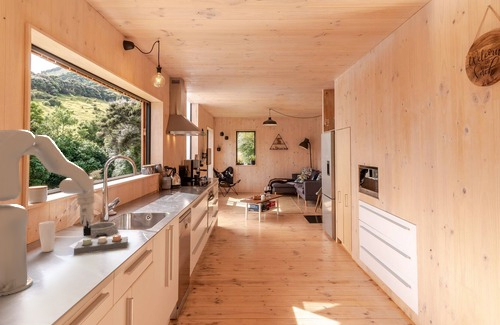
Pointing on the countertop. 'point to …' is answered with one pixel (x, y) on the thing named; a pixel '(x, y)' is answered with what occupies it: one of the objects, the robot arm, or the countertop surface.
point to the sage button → (87, 242)
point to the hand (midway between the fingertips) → (87, 235)
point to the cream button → (102, 240)
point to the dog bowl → (103, 229)
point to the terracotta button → (116, 238)
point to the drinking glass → (47, 235)
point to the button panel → (100, 246)
